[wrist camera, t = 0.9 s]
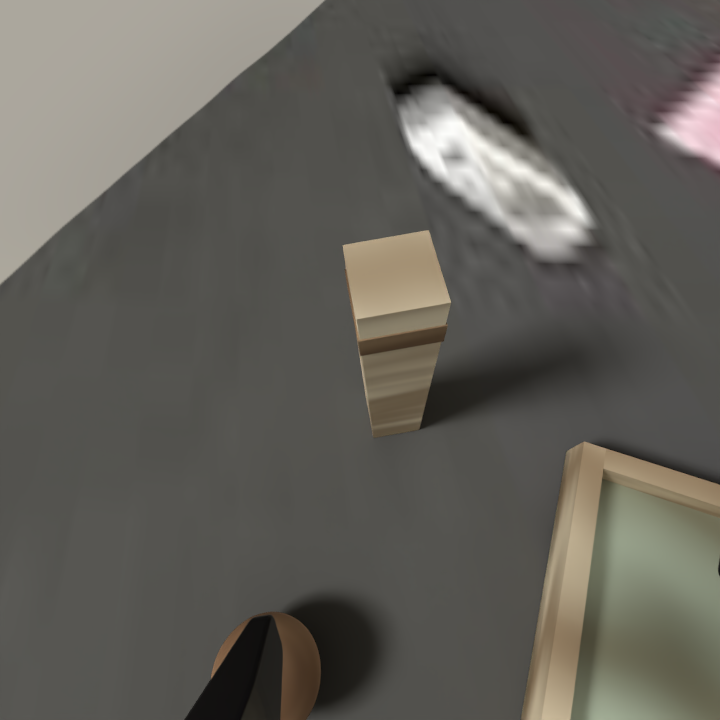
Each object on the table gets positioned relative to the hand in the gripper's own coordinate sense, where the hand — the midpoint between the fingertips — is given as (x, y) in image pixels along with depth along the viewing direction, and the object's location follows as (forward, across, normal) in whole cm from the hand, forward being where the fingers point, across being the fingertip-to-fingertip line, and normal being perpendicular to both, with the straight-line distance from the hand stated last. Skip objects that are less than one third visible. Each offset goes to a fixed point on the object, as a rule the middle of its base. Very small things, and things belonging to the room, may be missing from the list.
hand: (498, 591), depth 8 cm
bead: (+8, +8, +11) cm, 15 cm away
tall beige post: (+15, +1, +3) cm, 15 cm away
